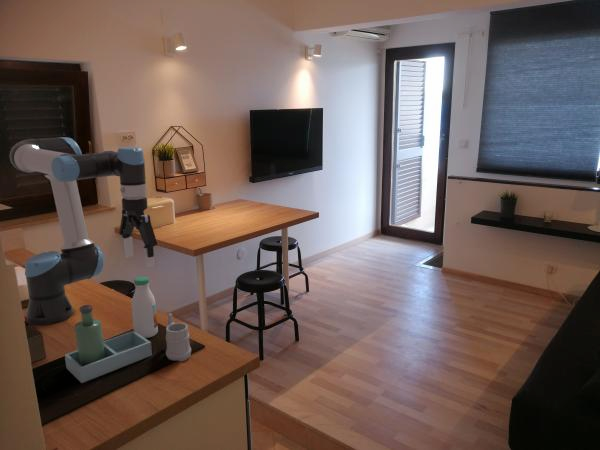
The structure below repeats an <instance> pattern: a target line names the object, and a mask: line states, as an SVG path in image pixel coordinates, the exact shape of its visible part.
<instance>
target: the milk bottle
mask: <svg viewBox="0 0 600 450" xmlns="http://www.w3.org/2000/svg"><path fill="white" fill-rule="evenodd" d="M149 279H150V278H149V277H148V276H138V277H136V278H134V279H133V283H134V287H135V289H134V294H133V296H132V299H131V313H132V324H133V325H132V326H133V331H135V332H137V333H138V334H140V335H141V336H143V337H144V338H146V339H149V338H152V337H154V336H156V335H157V334H158V332H159V328H158V312H157V305H156V299H155V296H154V294H153V292H152V291H151V289H150V286H149V285H150V280H149Z"/></svg>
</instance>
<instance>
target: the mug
mask: <svg viewBox="0 0 600 450" xmlns="http://www.w3.org/2000/svg"><path fill="white" fill-rule="evenodd" d="M188 327H189V326H188V324H186V323H184V322H174V317H173V314H172V313H168V314H167V326H166V328H165V331H166V333H165V334H166V335H165V341H166V350H165V356H166V357H167V359H168V360H169V361H178V362H185V361H186V360H188V359H189V358H190V357H191V353H192V347H191V346H190V345H191V344H190V333H189V328H188Z"/></svg>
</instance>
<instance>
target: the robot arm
mask: <svg viewBox="0 0 600 450" xmlns="http://www.w3.org/2000/svg"><path fill="white" fill-rule="evenodd" d="M144 157H145V156H144V150H143V149H142V148H141V147H138V146H125V147H124V146H123V147H119V148H118V149H117V151H114V150H103V151H100V152H97V153H96V152H95V153H86V154H85V153H84V154H83V153H82V150H81V148H80V146H79V145H78V143H77V142H76V141H75V140H74V139H73V138H71V137H60V136H57V137H43V138H42V137H41V138H27V139H24V140H21V141H19V142H16V144H14V145H13V146H12V148H11V149H10V151H9V161H10V163H11V164H12V166H13V167H14V168H15V169H16V170H18V171H22V172H23V173H35V172H37V173H43V174H44V177H45V178H47V180H49V182H50V185H51V188H52V194H53V198H54V204H55V208H56V213H57V217H58V221H59V226H60V229H61V230H60V231H61V235H62V239H63V245H62V246H61V247H60V251H61V253H60V252H59V251H56V250H55V251H54V250H52V251H44V252H40V253H37V254H35V255H33V256H30V257H29V258H27V260H26V261H25V263H24V270H25V271H24V275H25V279H26V287H27V291H28V292H27V293H28V300H29V301H28V304H27V305H28V306H27V309H26V315H25V316H26V317H25V318H26V321H27V323H28V324H30V325H34V326H47V325H52V324H57V323H60V322H62V321H65V320H67V319H69V318H70V317H71V316H73V313H74V309H73V306H72V303H71V302H70V299H69V298H68V296H67V295H66V290H65V287H66V286H68V285H71V284H75V283H76V282H81V281H85V280H89V279H92V278H94V277H97V276H100V274H101V273H102V271H103V269H104V266H105V259H104V253H103V251H102V249H101V248H100V246H98V245H95V242H94V241H93V240H92V239H90V238H89V235H88V230H87V226H86V225H87V224H86V221H85V216H84V211H83V207H82V202H81V196H80V193H79V188H78V182H77V181H80V180H87V179H95V178H96V179H97V178H104V177H112V176H113V177H115V176H116V177H119V183H120V188H119V191H120V193H121V197H122V199H121V207H122V209H121V219H120V226H119V227H120V228H119V235H120V236H121V238H123V239H122V240H123V248H124V257H125V258H127V259H128V258H131V257H134V255H135V253H134V243H133V242H134V241H133V231H134V228H135V229H136V230H137V231H138V233H139V235H140V238H141V239H142V241H143V244H144V246H143V252H144V264H145V265H144V266H145V268H150V267H151V268H152V267H154V266H156V265H155V256H154V255H155V254H154V247H156V246H158V241H157V239H156V238H157V237H156V235H155V231H154V229H153V226H152V222H151V215H149V214H146V215H145V213H144V211H145V210H147V209H148V198H147V195H148V194H147V192H148V191H147V183H146V182H147V181H146V167H145V158H144Z"/></svg>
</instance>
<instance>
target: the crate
mask: <svg viewBox="0 0 600 450" xmlns="http://www.w3.org/2000/svg"><path fill="white" fill-rule="evenodd" d="M103 343H104V352H105V358H104V359H101V360H98V361H96V362H93V363H90V364H88V365H85V366H82V367H81V366H80V365H79V357H78V349H77V350H73V351H72V352H68V353H66V354H64V360H65V367H66V370H67V371H69V372H70V374H71V375H73V376H74V378H75V379H77V380H78V382H80V384H83V383H86V382H89V381H91V380H93V379H96V378H98V377H101V376H104V375H106V374H108V373H112V372H113V371H116V370H118V369H121V368H123V367H126V366H129V365H132V364H134V363H136V362H139V361H142V360H144V359H146V358H149V357H151V356H153V351H152V342H151V341H150V340H148V338H145V337H143V336H141V335H140V334H138V333H137V332H135V331H134V330H132V331H128V332H126V333H122V334H120V335H117V336H115V337H111V338H108V339H105V340H103Z"/></svg>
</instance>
